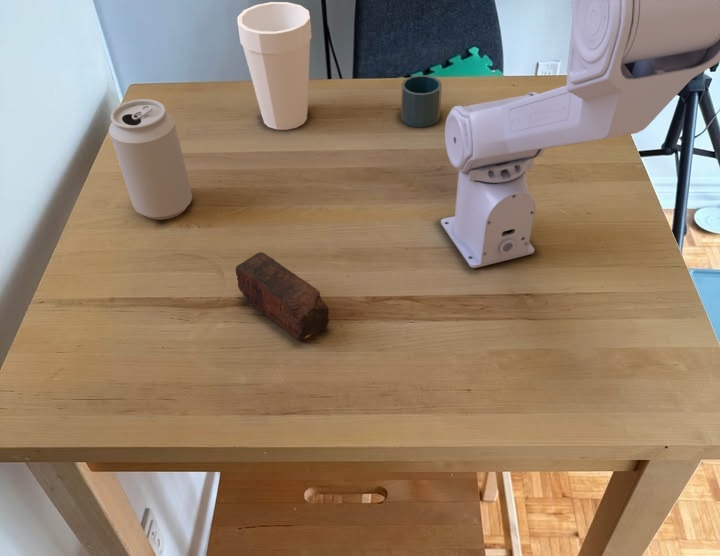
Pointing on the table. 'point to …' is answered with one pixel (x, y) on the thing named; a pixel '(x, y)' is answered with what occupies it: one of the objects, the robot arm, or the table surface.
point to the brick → (282, 296)
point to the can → (150, 158)
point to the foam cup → (278, 60)
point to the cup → (420, 100)
